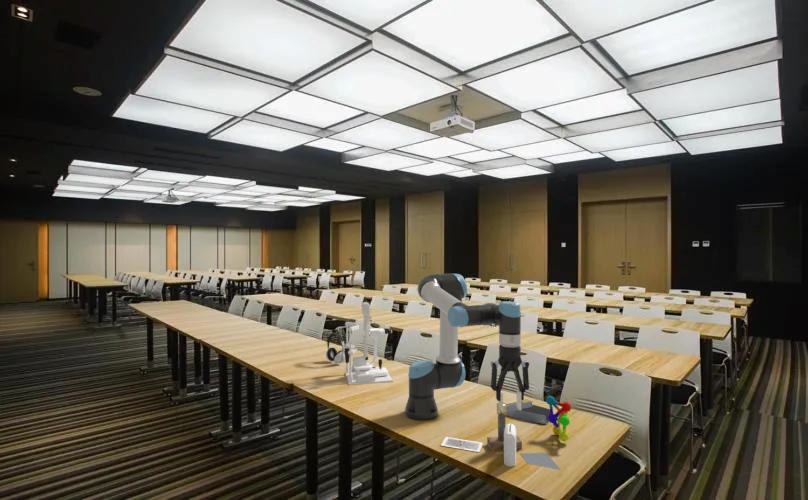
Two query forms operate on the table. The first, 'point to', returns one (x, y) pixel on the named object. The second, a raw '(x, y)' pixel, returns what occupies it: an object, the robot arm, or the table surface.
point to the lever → (513, 406)
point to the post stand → (501, 437)
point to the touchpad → (462, 444)
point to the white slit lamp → (364, 354)
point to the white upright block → (510, 445)
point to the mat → (540, 460)
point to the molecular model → (562, 417)
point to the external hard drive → (531, 414)
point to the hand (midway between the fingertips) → (509, 409)
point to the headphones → (332, 353)
